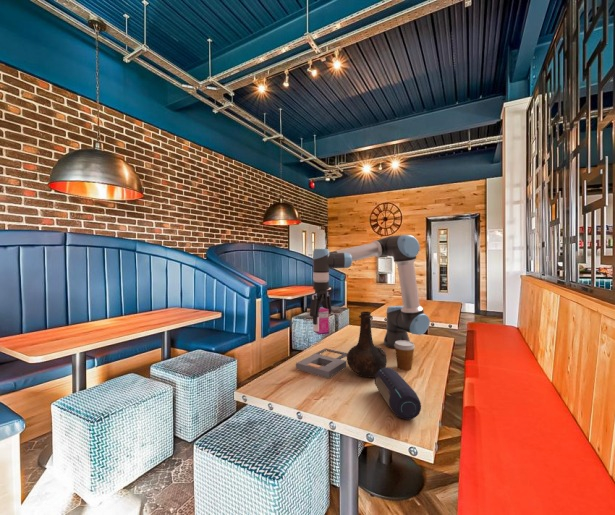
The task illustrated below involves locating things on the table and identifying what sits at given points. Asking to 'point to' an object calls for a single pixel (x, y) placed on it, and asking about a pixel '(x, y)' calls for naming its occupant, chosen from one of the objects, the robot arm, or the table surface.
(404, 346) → the disposable coffee cup
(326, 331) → the supplement box
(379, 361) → the glass bottle
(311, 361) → the socket plate
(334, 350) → the flat grey square frame
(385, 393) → the portable speaker
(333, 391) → the table surface
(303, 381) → the table surface
